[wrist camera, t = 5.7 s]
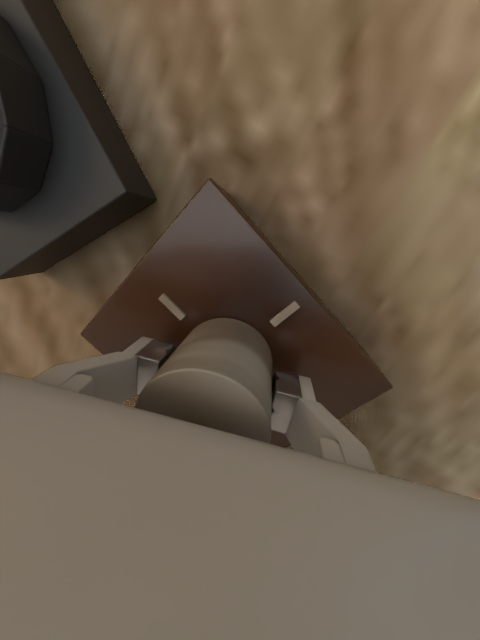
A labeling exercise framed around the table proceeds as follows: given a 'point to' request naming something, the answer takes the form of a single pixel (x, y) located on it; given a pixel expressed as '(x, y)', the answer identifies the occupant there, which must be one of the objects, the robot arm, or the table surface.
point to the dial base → (236, 302)
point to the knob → (216, 380)
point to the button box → (55, 146)
